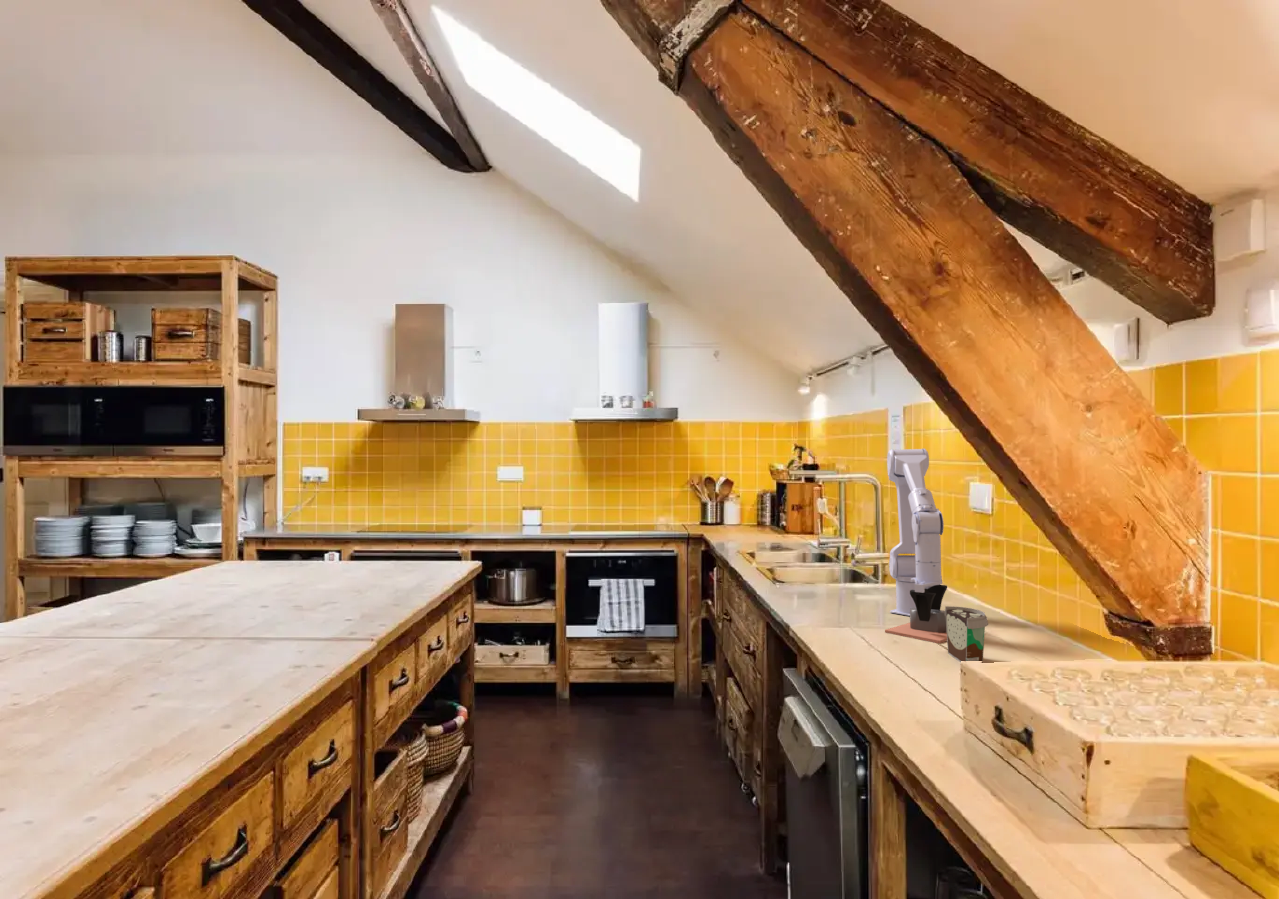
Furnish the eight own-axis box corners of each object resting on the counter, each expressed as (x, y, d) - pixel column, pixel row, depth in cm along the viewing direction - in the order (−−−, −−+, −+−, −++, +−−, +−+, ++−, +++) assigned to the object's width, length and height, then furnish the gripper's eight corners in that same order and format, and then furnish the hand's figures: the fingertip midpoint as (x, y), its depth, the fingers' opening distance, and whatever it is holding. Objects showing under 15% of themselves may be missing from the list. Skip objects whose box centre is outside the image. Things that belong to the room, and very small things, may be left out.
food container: (1000, 668, 149) (999, 618, 149) (969, 668, 149) (968, 618, 149) (973, 651, 161) (972, 605, 161) (945, 651, 161) (944, 605, 161)
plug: (913, 625, 183) (913, 607, 183) (956, 630, 176) (956, 612, 176) (908, 628, 180) (907, 610, 180) (952, 634, 173) (951, 615, 173)
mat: (920, 621, 189) (920, 619, 189) (974, 631, 178) (974, 629, 178) (884, 632, 179) (884, 629, 179) (939, 643, 168) (939, 640, 168)
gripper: (920, 556, 187) (921, 610, 187) (901, 564, 175) (902, 621, 175) (950, 558, 182) (951, 613, 182) (932, 566, 171) (933, 625, 171)
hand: (929, 617), depth 178 cm, fingers open, 7 cm apart
